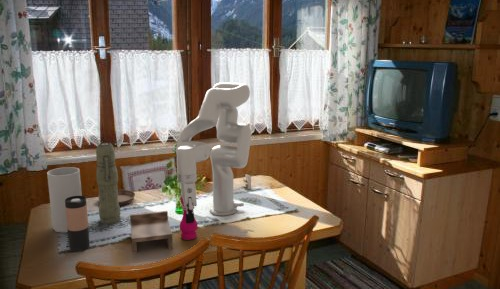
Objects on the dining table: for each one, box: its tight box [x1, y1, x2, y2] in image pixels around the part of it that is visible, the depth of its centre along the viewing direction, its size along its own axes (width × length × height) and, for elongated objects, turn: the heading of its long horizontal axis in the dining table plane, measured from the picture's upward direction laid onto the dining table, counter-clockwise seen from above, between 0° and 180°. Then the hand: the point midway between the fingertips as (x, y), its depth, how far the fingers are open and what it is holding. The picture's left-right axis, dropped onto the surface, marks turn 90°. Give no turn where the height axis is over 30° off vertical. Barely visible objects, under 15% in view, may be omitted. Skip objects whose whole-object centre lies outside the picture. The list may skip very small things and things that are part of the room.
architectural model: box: [239, 173, 252, 190], centre depth 243 cm, size 3×7×7 cm, turn 29°
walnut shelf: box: [129, 210, 174, 254], centre depth 177 cm, size 15×17×9 cm
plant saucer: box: [98, 189, 136, 206], centre depth 223 cm, size 18×18×3 cm
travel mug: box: [65, 195, 91, 253], centre depth 171 cm, size 8×8×20 cm
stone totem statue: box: [95, 142, 121, 225], centre depth 195 cm, size 9×12×35 cm
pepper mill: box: [179, 195, 199, 241], centre depth 181 cm, size 7×7×20 cm
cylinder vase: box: [46, 166, 83, 234], centre depth 189 cm, size 12×12×25 cm
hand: (188, 219), depth 181 cm, fingers open, 5 cm apart
